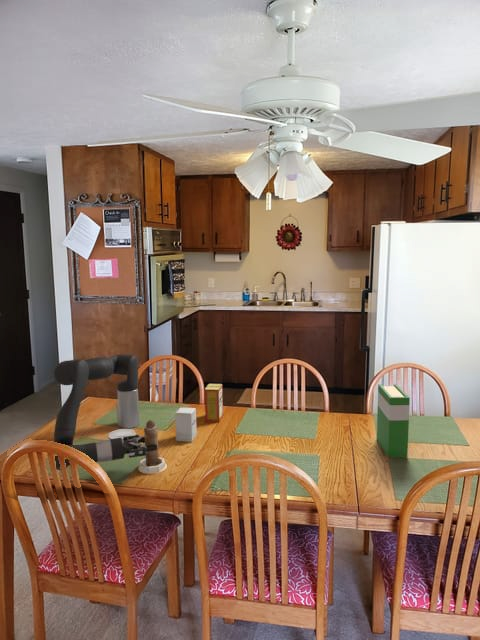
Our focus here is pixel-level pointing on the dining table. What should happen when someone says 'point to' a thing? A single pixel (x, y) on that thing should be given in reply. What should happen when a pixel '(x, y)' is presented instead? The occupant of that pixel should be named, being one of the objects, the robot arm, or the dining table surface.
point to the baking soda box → (213, 403)
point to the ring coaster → (152, 467)
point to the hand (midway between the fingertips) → (154, 442)
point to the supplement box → (185, 424)
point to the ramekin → (121, 433)
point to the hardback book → (393, 420)
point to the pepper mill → (150, 439)
